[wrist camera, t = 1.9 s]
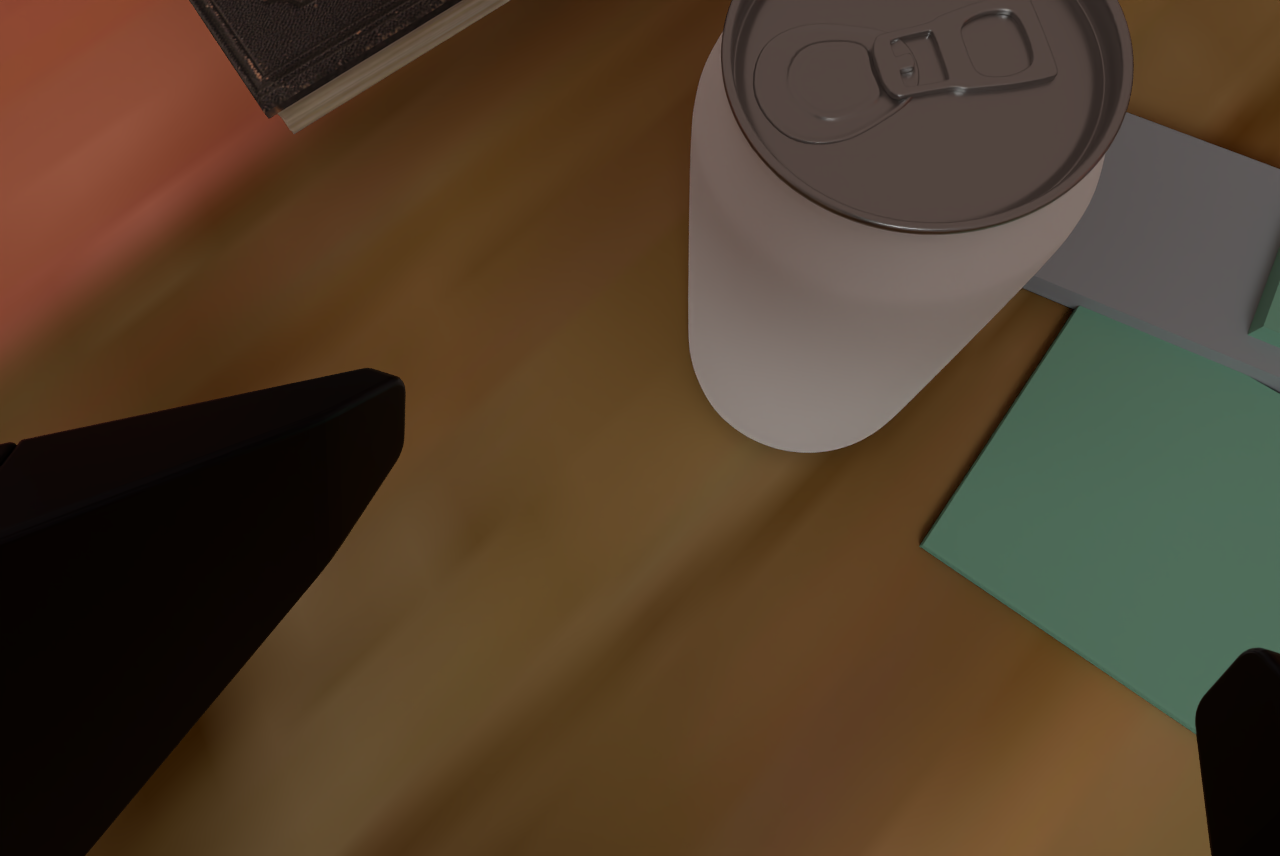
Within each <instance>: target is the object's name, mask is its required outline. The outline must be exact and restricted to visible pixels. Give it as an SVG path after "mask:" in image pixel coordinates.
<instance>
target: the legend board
mask: <svg viewBox="0 0 1280 856" xmlns="http://www.w3.org/2000/svg"><path fill="white" fill-rule="evenodd" d="M1022 288H1024V289H1027V290H1029V291H1031V292H1034V293H1036V294H1038V295H1041V296H1043V297H1046V298H1048V299H1050V300H1053V301H1055V302H1058V303H1060V304H1062V305H1065V306H1067V307H1070V308H1072V309H1074V310H1075V309H1076V308H1077V307H1078V306H1082V307H1085V308H1087V309H1090V310H1092V311H1094V312H1097V313H1099V314H1101V315H1104V316H1106V317H1109V318H1111V319H1113V320H1116V321H1118V322H1121V323H1123V324H1125V325H1128V326H1130V327H1133V328H1135V329H1137V330H1140V331H1142V332H1145V333H1147V334H1149V335H1152V336H1154V337H1157V338H1159V339H1161V340H1164V341H1166V342H1169V343H1171V344H1173V345H1176V346H1178V347H1181V348H1183V349H1185V350H1188V351H1190V352H1193V353H1195V354H1197V355H1200V356H1202V357H1205V358H1207V359H1209V360H1212V361H1214V362H1217V363H1219V364H1221V365H1224V366H1226V367H1229V368H1231V369H1233V370H1236V371H1238V372H1241V373H1243V374H1245V375H1248V376H1250V377H1251V378H1253V379H1255V380H1256V381H1258V382H1260V383H1262V384H1263V385H1265V386H1267V387H1269V388H1270V389H1272V390H1274V391H1275V392H1277V393H1279V394H1280V169H1278V168H1275V167H1273V166H1270V165H1267V164H1264V163H1262V162H1259V161H1256V160H1254V159H1251V158H1248V157H1246V156H1243V155H1240V154H1238V153H1235V152H1232V151H1230V150H1227V149H1224V148H1221V147H1219V146H1216V145H1213V144H1211V143H1208V142H1205V141H1203V140H1200V139H1197V138H1195V137H1192V136H1189V135H1187V134H1184V133H1181V132H1178V131H1176V130H1173V129H1170V128H1168V127H1165V126H1162V125H1160V124H1157V123H1154V122H1152V121H1149V120H1146V119H1144V118H1141V117H1138V116H1135V115H1133V114H1130V113H1127V112H1126V114H1125V117H1124V120H1123V122H1122V125H1121V127H1120V129H1119V131H1118V133H1117V135H1116V137H1115V139H1114V141H1113V142H1112V144H1111V146H1110V147H1109V149H1108V150H1107V152H1106V153H1105V157H1104V162H1103V166H1102V170H1101V174H1100V177H1099V181H1098V184H1097V187H1096V189H1095V192H1094V194H1093V197H1092V199H1091V201H1090V203H1089V205H1088V207H1087V209H1086V210H1085V212H1084V214H1083V216H1082V217H1081V219H1080V220H1079V222H1078V223H1077V225H1076V226H1075V228H1074V229H1073V230H1072V232H1071V233H1070V235H1069V236H1068V237H1067V239H1066V240H1065V241H1064V242H1063V244H1062V245H1061V246H1060V247H1059V248H1058V250H1057V251H1056V252H1055V253H1054V254H1053V255H1052V256H1051V257H1050V258H1049V260H1048V261H1047V262H1046V263H1045V264H1044V265H1043V266H1042V267H1041V269H1040V270H1039V271H1038V272H1037V273H1036V274H1035V275H1034V276H1033V277H1032V278H1031V279H1030V280H1029V281H1028V282H1027V283H1026V284H1025V285H1024V286H1023V287H1022Z"/></svg>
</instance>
